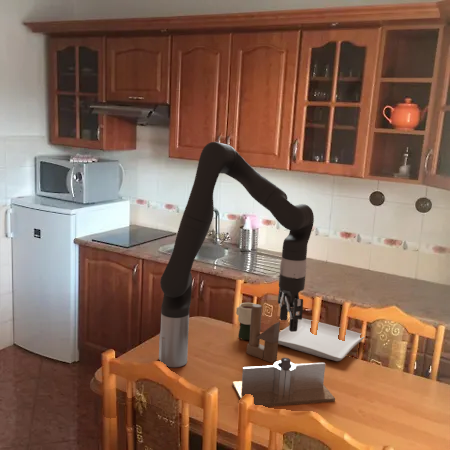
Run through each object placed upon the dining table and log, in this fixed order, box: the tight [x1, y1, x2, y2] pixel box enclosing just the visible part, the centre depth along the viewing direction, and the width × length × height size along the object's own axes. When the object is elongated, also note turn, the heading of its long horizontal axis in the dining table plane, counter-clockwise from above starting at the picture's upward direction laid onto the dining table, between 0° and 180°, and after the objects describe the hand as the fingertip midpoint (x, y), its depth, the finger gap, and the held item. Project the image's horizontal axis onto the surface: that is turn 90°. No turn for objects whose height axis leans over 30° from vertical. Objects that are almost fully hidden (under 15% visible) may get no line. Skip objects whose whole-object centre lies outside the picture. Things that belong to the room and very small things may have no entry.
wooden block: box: [246, 303, 281, 364], centre depth 184 cm, size 4×11×18 cm, turn 52°
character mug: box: [235, 302, 254, 341], centre depth 200 cm, size 11×7×13 cm, turn 50°
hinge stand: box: [232, 360, 336, 408], centre depth 161 cm, size 28×14×9 cm, turn 103°
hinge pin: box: [280, 357, 292, 369], centre depth 160 cm, size 3×3×10 cm
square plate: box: [278, 317, 364, 362], centre depth 199 cm, size 27×27×4 cm
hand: (288, 325), depth 157 cm, fingers open, 8 cm apart
